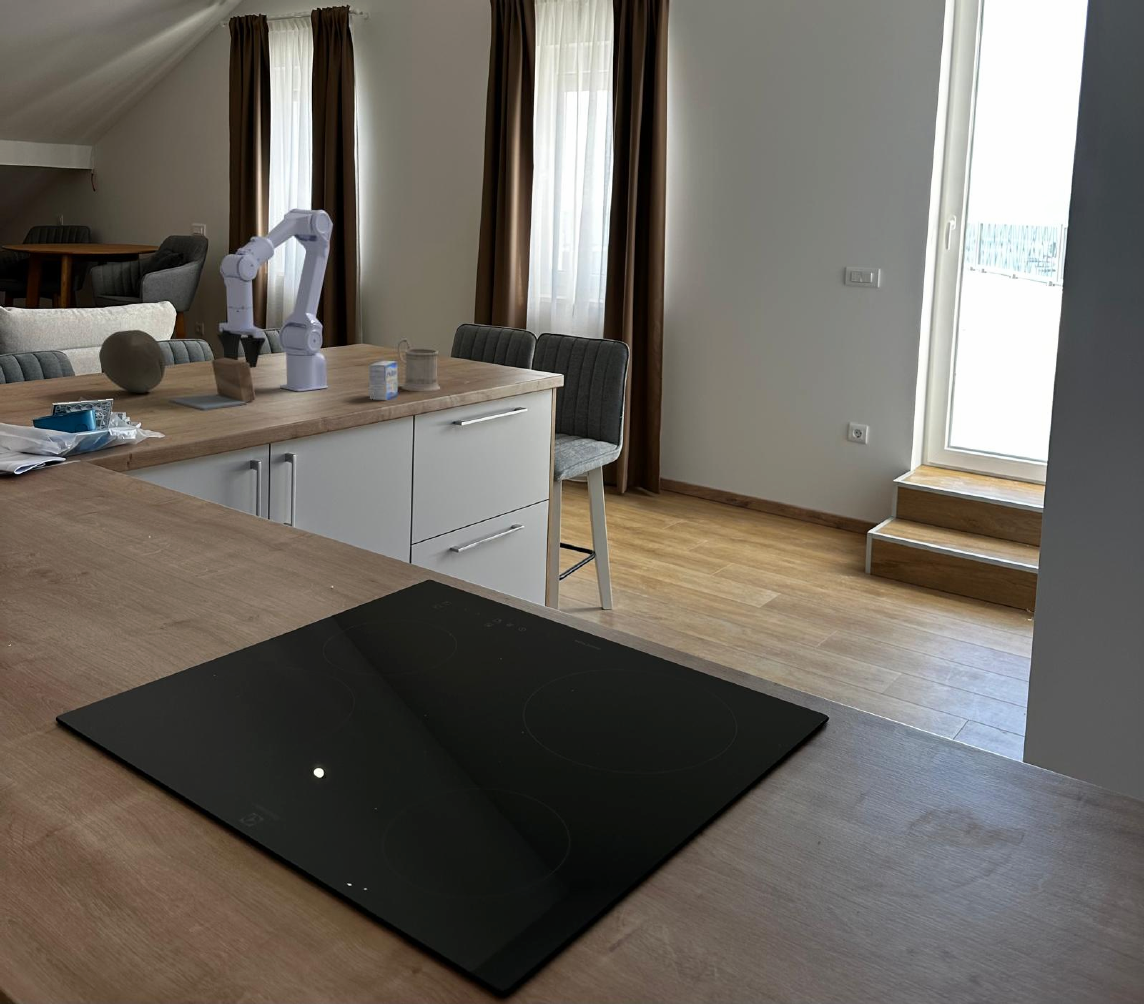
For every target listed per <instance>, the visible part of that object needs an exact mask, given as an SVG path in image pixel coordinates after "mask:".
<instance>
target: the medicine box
mask: <svg viewBox="0 0 1144 1004" xmlns="http://www.w3.org/2000/svg"><path fill="white" fill-rule="evenodd" d="M368 370H369V373H368V376H369V377H368V378H369V399H370V400H372V399H373V400H372V401H384V402H387V401H389V400H391V399H393V398H395V397H397V396H398V362H397V361H396V360H395V361H394V360H393V361H392V360H380V361H377V362H375V363H372V364H369V369H368ZM388 399H389V400H388Z"/></svg>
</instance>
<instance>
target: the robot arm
mask: <svg viewBox="0 0 1144 1004" xmlns="http://www.w3.org/2000/svg"><path fill="white" fill-rule="evenodd" d="M333 226H334V224H333V222H332V219H331V218H330V216H329V214H328V213H327V212H326V211H325V210H323V209H318V210H314V209H301V208H300V209H299V208H292V209H291V210H289V211H288V212H286V213H285V214H284V216H283V219H282V220H281V221H280V222H279V223H278V224H277V225H276V226H275V227H274V228H272V229H271V230H270V231H269V232H268V233H267V234H266V235H264V237H263V236H252V237H251V238H250V241H249V242H248V243H247V244H245V245H244V246H243V247H239V248H238V249H237V251H236V252H235V254H233V253H232V254H231V253H230V254H228V255H226V256H225V257H224V258H223V259H222V261H221V264H220V266H219V271H220V274H221V276H222V277H223V279H224V280H223V282H224V285H225V287H226V306H227V307H226V311H227V322H221V323H218V324H219V326H218V327H219V328H218V329H219V332H220V333H217V334H216V335H217V339H218V340H219V342H220V343H221V346H222V347H223V350H224V353H225V356H226V357H225V358H229V359H233V360H238V361H239V346H240V342H241V344H242V347H243V351H244V358H245V362H247V363H249V366H250V369H251V368H256V367H257V365H258V360H259V357H260V356H259V355H260V352H261V349H262V347H263V346H264V344H265V342H266V338H265V337H264V333H263V332H264V329H262V328H259V327H257V326H255V325H254V308H253V306H254V305H253V282H252V281H253V280H254V279H255V278H256V276H257V274H258V270H259V269H260V267H262V266H263V265H264V264H266V263H267V262H268V261H269V260H271V259H272V258H273V257H274V254H275V249H276V248H278V247H279V246H280V245H282V244H284V243H285V242H286V241H288V240H290V238H292V237H293V238H294V239H296V241H297V242H298V243H299V244H301V246H303V248H304V250H305V255H304V259H303V264H302V265H303V266H302V270H301V273H300V274H301V275H300V280H299V284H298V289H297V290H298V291H297V294H296V299H295V305H294V309H293V312H292V313H291V314H289V315H288V316H287V317H285V319H284V322H283V325H282V327H281V329H280V330H279V332H278V343H279V346H280V347H281V348H282V349H283V353H285V357H286V358H285V359H286V361H285V363H286V384H283V385H282V384H281V385H279V388H281V389H286V390H291V391H295V392H305V391H306V392H307V391H311V390H312V391H313V390H319V389H328V388H329V385H327V363H326V359H325V356H324V355H323V354H322V353H321V352H319V350H320V349H321V347H322V345H323V333H322V332H323V327H324V326H323V325H322V323H321V322H320V321H319V320H318V318H317V313H318V307H319V302H320V298H321V292H322V287H323V283H324V277H325V273H326V268H327V263H328V258H329V254H330V241H331V236H332V230H333ZM242 336H245V337H242Z"/></svg>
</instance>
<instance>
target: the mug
mask: <svg viewBox="0 0 1144 1004" xmlns="http://www.w3.org/2000/svg"><path fill="white" fill-rule="evenodd" d="M409 340H410V339H409V338H401V340H400V341H399V343H398V345H397V354H398V358H399V359H400V361H401V362H402V363H403V364H404V365H405V380H404V384H403V385H401V389H403V390H406V391H410V392H436V391H439V390H441V387H440V386H439V384H438V354H439V351H438V350H436V349H430V348H411V343H410V342H409ZM403 343H405V344H406V345H407V348H406V349H405V350H404V353H405V360H404V358H403V357H402V355H401V345H402V344H403Z"/></svg>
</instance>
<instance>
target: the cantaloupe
mask: <svg viewBox="0 0 1144 1004" xmlns="http://www.w3.org/2000/svg"><path fill="white" fill-rule="evenodd" d="M98 357H99V363H100V366H101V369H102V371H103V373H104V375H106V377H107V378H108V379H109V380H110V381H111V382H112V383H114V384H115V385H116V386H118V388H120V389H122V390H125V391H127V392H131V393H136V394H137V393H138V394H143V393H147V392H149V391H151V390H153V389H155V388H157V386H159V385H160V383H162V381H163V378H164V375H165V371H166V357H165V354H164V352H163V349H162V348H161V346H160V345H159V342H158V341H157V340H156V338H155V337H153V336H152V335H151V334H150V333H147V332H146V331H143V330H140V329H134V330H133V329H131V330H129V329H128V330H119V331H115V332H113V333H111V334H110V335H109V336H108V337H107V338H106V339H105V340H104V341H103V343H102V344H101V347H100V350H99V354H98Z"/></svg>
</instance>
